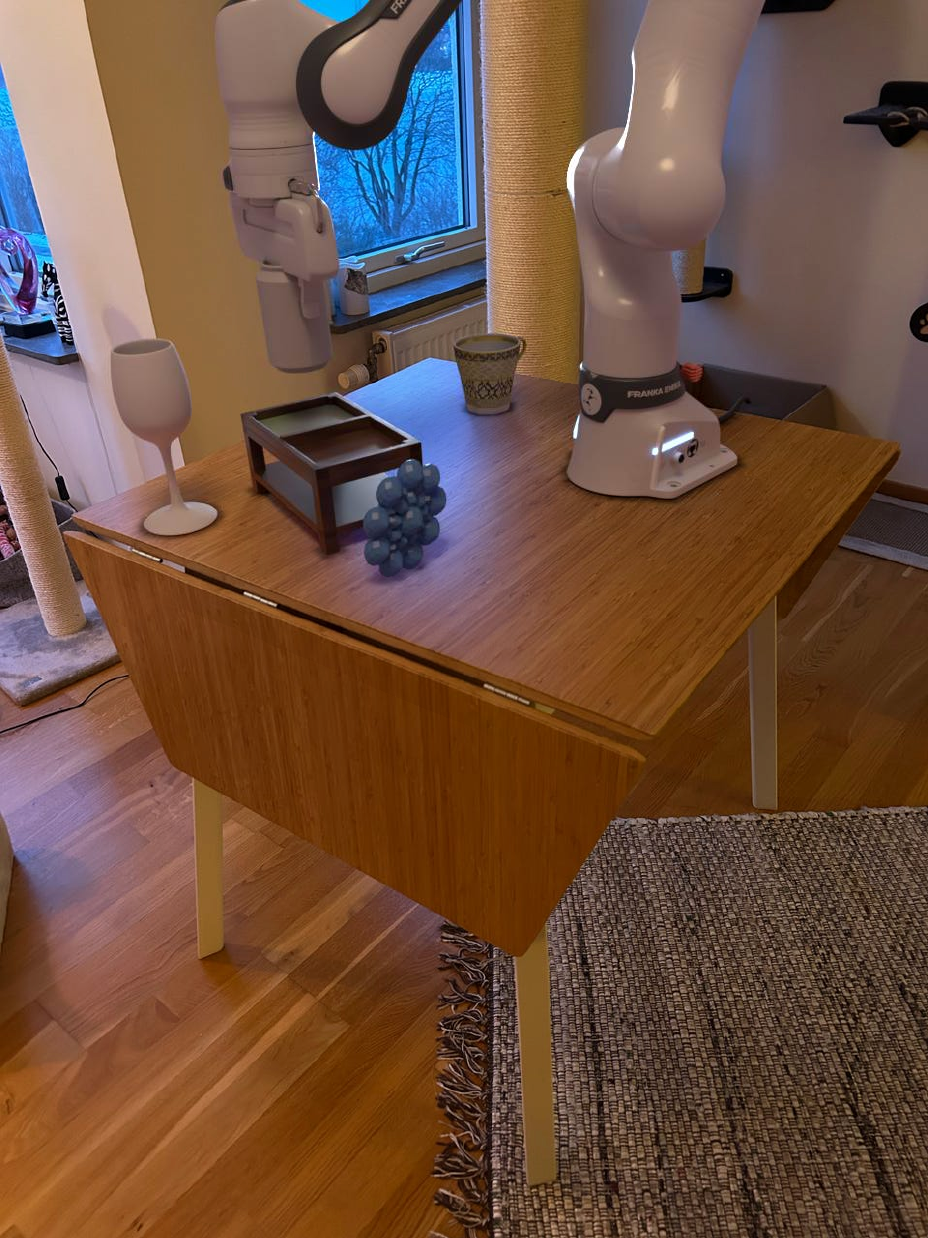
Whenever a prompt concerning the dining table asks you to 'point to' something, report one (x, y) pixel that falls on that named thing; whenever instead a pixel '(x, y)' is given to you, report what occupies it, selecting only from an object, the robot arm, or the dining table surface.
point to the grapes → (404, 518)
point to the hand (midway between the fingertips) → (294, 309)
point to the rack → (325, 460)
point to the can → (292, 323)
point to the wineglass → (158, 420)
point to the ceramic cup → (488, 370)
